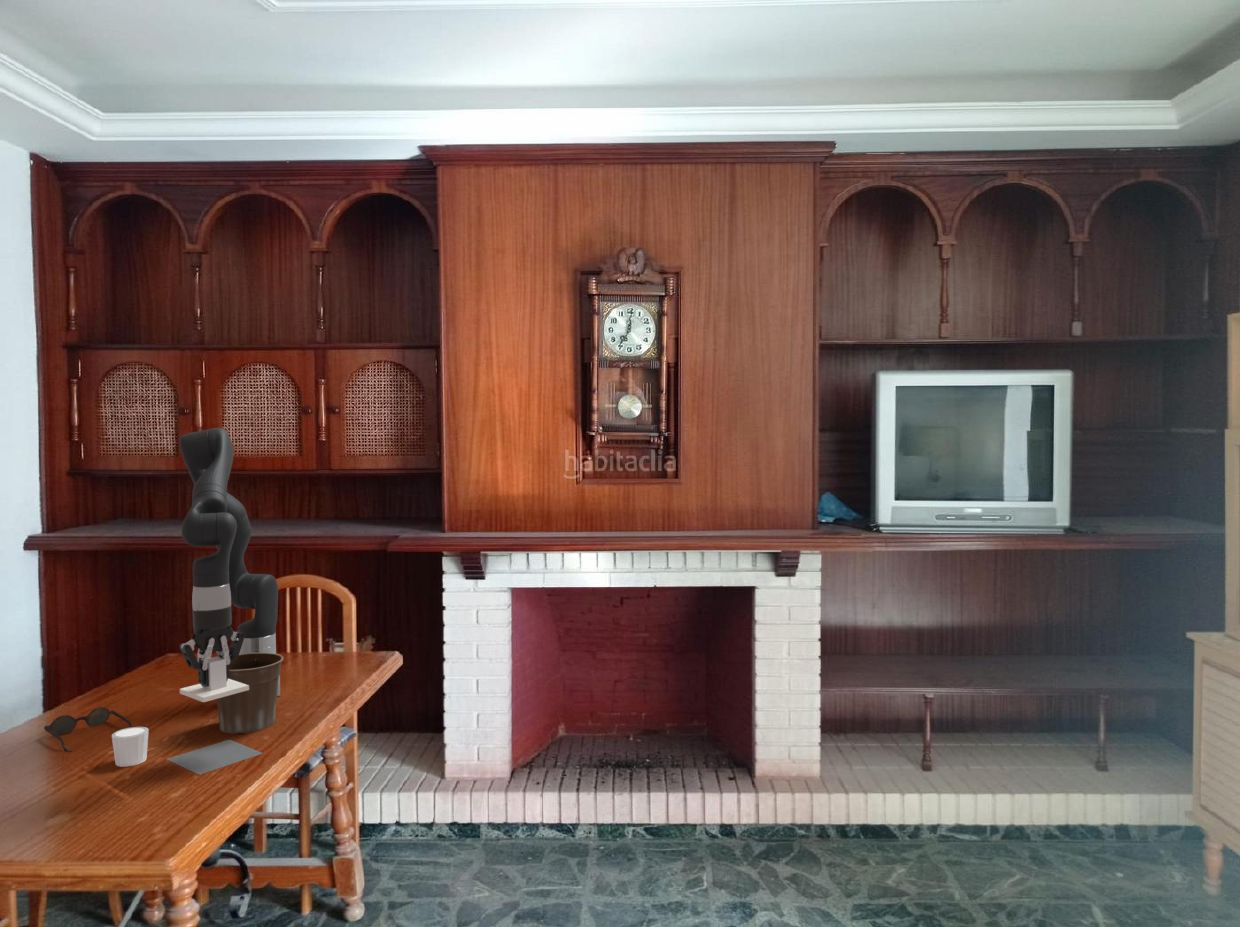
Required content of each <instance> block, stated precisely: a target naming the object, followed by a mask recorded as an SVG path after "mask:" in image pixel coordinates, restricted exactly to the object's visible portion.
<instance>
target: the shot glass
mask: <svg viewBox="0 0 1240 927" xmlns="http://www.w3.org/2000/svg"><path fill="white" fill-rule="evenodd" d="M149 730H150V729H149V728H148V727H147V726H146V727H145V726H135V727H133V726H132V727H131V728H130V727H126V728H122V729H119V730H117V731H114V733H112V734H111V741H112V748H113V756H114V762H115V763H114V764H115V766H116V767H121V768H123V767H124V768H126V767H132V766H137V765H140V764H142V763H144V762H145V761H147V759H148V758H147V755H148V744H149Z"/></svg>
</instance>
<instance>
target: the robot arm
mask: <svg viewBox="0 0 1240 927" xmlns="http://www.w3.org/2000/svg"><path fill="white" fill-rule="evenodd" d="M178 444H179V450H180V453H181V456H182V460H183V463H184V464H185V466H186V469H187V471H188V473H189V476H190V478H191V480H192V482H193V485H194V486H193V487H192V492H191V493H192V494H191V496H192V497H191V507H190V509H189V511H188V512H187V514H186V516H185V517H184V519H183V522H182V525H181V537H182V540H183V541H184V542H185V544H187V545H189V546H191V547H208V546H209V547H210V546H211V547H213V546H215V547H216V549H217V551H215V552H214V553H212V554H210V555H205V556H201V557H198V558H196V559H195V560H193V563H192V594H191V596H192V597H191V599H192V600H191V604H192V627H193V634H192V636H191V639H189V641H187V642H185V643H184V642H183V643H180V644H178V646H179V647H178V648H179V649H180V652H181V653H182V656H183V658H184V660H185V662H186V665H187V666H188V668H191V669H193V670H197V676H198V678H197V679H198V680H197V681H198V684H201V686H203V687H208V686H209V670H208V669H207V668H208V664H209V659H211V658H212V654H213V653H216V654H217V657H220V658H223V659H226V682H227V681H228V678H229V676H230V672H229V671H230V670H229V664H230V662H232V661H233V660H237V659H238V656H239V654H246V653H275V654H277V644H276V643H277V641H276V637H277V636H276V627H277V622H278V612H279V610H278V606H279V586H278V581H277V579H276V577H275V576H273V575H272V574H267V573H250V572H249V571H248V569H247V568H246V565H245V564H246V563H245V559H244V558H245V557H244V556H245V553H246V549H247V548H248V545H249V543H250V539H251V537H252V527H251V523H250V520H249V517H248V514H247V510H246V508H245V506H244V505H243V504H242V503H241V502H240V501H239V500H238V499H237V498H235V496H233V495H232V494H230V493H229V492H228V489H227V488H228V482H229V479H230V475H231V471H232V467H233V462H234V447H233V441H232V439H231V436H230V435H229V433H228V431H227V430H226V429H225V428H223V427H214V428H209V429H204V430H199V431H193V432H189V433H185V434H183V435H181V436H180V438H179V443H178ZM232 605H233V606H234V607H236V608H237V609H238V608H239V609H242V610H244V609H245V610H254V616H253V618H252V619H249V620H247V621H244V622H242V623H240V624H239V625H238V627H237V631H234V628H232V622H233V621H232V619H233V618H232V617H233V616H232ZM230 640H231V642H230ZM229 642H230V645H228V644H229ZM195 646H196V647H197V648H198V650H197V654H195V653H194V650H195ZM196 655H197V656H196ZM280 696H281V674H280V675H279V678H278V689H277V697H280Z"/></svg>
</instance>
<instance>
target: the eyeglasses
mask: <svg viewBox="0 0 1240 927" xmlns="http://www.w3.org/2000/svg"><path fill="white" fill-rule="evenodd" d="M111 715H113V716H116V717H117V718H118V719H121V720H123V721H124V722H126V723H127V724H128V725H129V728H131V727H133V725H132V722H131V721H130V720H129V718H128V719H127V718H126V717H125V716H123V715H121V714H120V713H119V712H117V711H115V710H114V709H112V710H109V709H108V708H107V707H105V706H98V707H95V708H93V709H92V710H91V711H90V712H89V713H88V714H87V715H86V716H79V717H77V718H74V717H73V715H70V714H64V715H60V716H58V717H56V718H55V719H54V720H53V721H52V722H51V724H50V725H45V726H44V727H43V729H44V730H45V731H46V732H47V733H48V734H50V735H52V736H53V737H55V738H56V739H57V740H59V741H60V743H61V745H62V746H61V747H62V749H63V751H64V752H69V753H73V752H74V751H73V750H71V749H68V748H67V747H66V745H65V742H64V740H63V738H62V737H61V736H60V735H59V734H61V735H65V734H64V733H66V734H69V733H68V732H70V733H72V732H73V731H74V730H75V728H76V726H77V724H78V722H79V721H84V722H85V723H86V725H88V727H90V728H93V727H92V726H94V727H96V726H95V725H97V726H100V725H99V724H101V725H103V724H102V723H104V724H105V723H106V722H107V721H108V720H109V719H110V718H109V717H110V716H111Z"/></svg>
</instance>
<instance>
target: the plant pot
mask: <svg viewBox="0 0 1240 927" xmlns="http://www.w3.org/2000/svg"><path fill="white" fill-rule="evenodd" d="M283 661H284V656H283V655H281V654H279V653H276V654H275V653H246V654H239V656H238V659H237V660H233V661H232V662H230V664H229V670H230V671H229V672H230V676H229V678H228V679H231V680H234V681H237V682H240V683H243V684H246V685H249V690H247V691H243V692H240V693H236V694H232V695H229V696H225V697H221V698H218V699H216V702H217V703H216V705H217V715H218V723H219V724H218V725H219V731H220V732H222V733H225V734H230V735H231V734H234V735H235V734H249V733H254V732H258V731H259V732H260V731H262V730H266V729H268V728H270V727H271V726H273V725H274V723H275V722H276V712H277V698H278V696H277V689H278V678H279V675H280V676H281V668H282V662H283Z"/></svg>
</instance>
